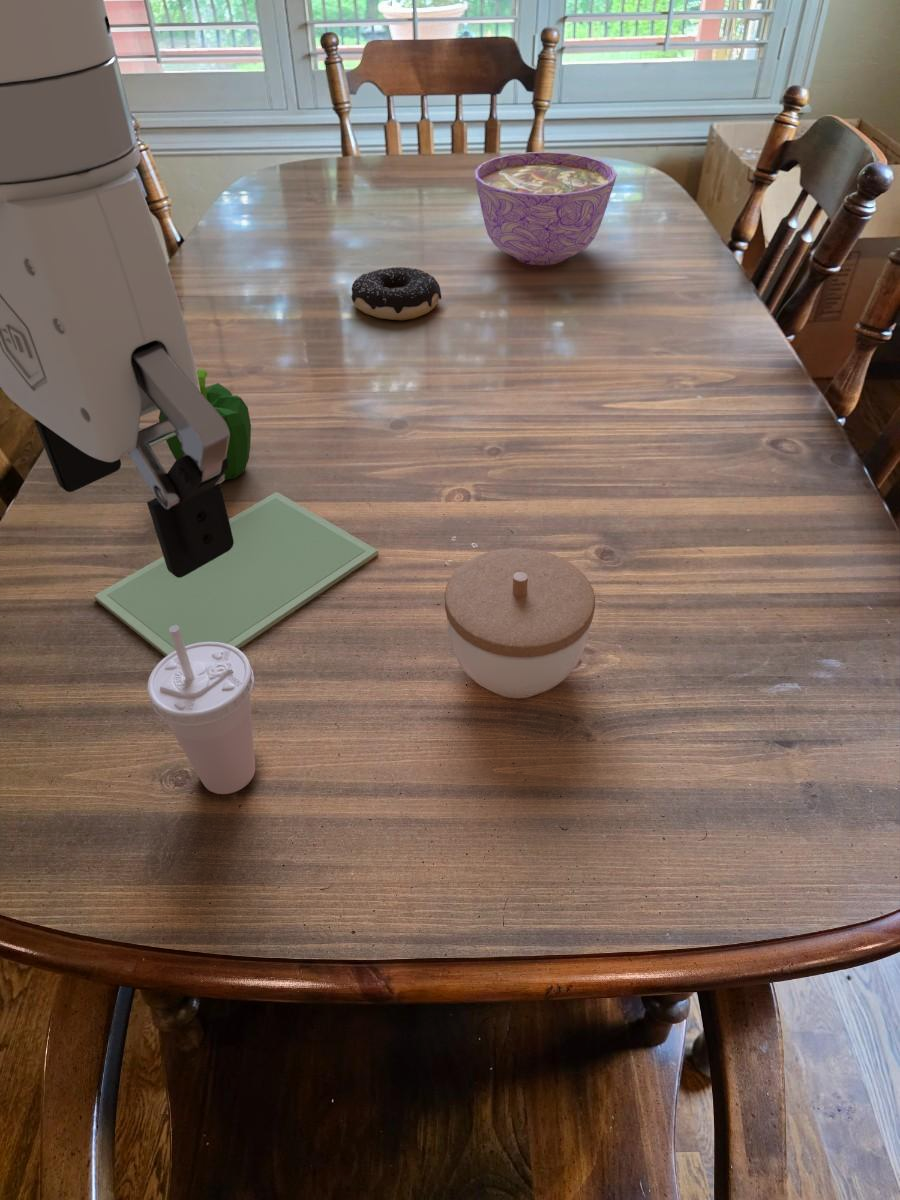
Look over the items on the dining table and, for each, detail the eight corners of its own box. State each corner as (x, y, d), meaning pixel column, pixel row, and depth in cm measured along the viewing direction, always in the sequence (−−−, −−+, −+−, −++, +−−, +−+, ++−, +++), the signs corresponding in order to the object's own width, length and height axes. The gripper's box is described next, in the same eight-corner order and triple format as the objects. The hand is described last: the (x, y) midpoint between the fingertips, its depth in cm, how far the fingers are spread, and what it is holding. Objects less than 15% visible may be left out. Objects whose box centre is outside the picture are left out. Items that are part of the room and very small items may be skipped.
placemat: (194, 679, 67) (192, 674, 66) (95, 600, 74) (93, 595, 73) (378, 554, 78) (378, 549, 77) (277, 495, 85) (276, 491, 84)
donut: (419, 329, 111) (418, 299, 109) (337, 316, 115) (334, 286, 112) (451, 296, 119) (450, 267, 116) (373, 284, 122) (371, 256, 120)
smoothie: (173, 752, 61) (120, 607, 52) (262, 724, 63) (226, 578, 54) (191, 824, 57) (135, 679, 48) (285, 791, 59) (250, 645, 49)
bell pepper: (236, 499, 84) (215, 408, 77) (161, 486, 86) (135, 396, 79) (273, 454, 90) (257, 365, 83) (203, 443, 92) (181, 355, 85)
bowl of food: (532, 222, 140) (536, 143, 132) (635, 252, 130) (645, 169, 122) (446, 257, 130) (444, 174, 122) (550, 293, 119) (555, 205, 111)
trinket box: (614, 683, 66) (630, 590, 59) (499, 745, 61) (502, 652, 55) (529, 603, 72) (535, 512, 66) (420, 654, 68) (415, 563, 62)
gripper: (-181, 106, 33) (-12, 482, 44) (38, 205, 24) (178, 644, 35) (9, 72, 37) (119, 425, 48) (257, 145, 28) (320, 557, 39)
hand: (144, 517), depth 42 cm, fingers open, 9 cm apart
